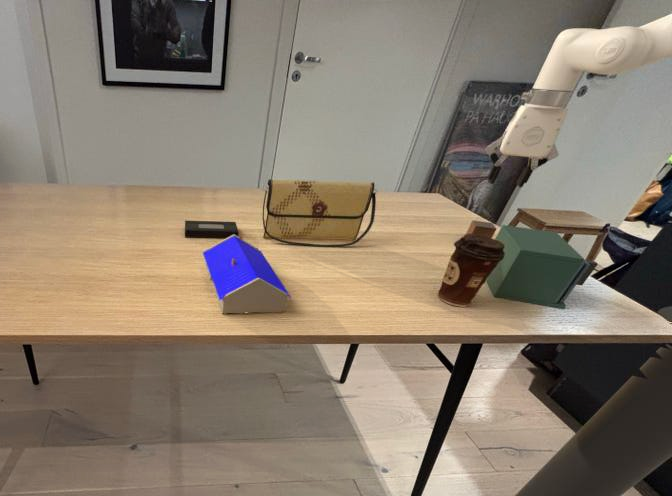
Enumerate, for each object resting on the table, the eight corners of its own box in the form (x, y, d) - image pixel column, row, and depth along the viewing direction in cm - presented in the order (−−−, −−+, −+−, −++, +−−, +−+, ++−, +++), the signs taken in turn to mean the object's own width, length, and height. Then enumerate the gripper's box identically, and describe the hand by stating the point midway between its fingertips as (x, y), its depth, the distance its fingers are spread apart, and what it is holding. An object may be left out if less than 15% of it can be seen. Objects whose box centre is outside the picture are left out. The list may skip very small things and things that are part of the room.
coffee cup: (431, 303, 81) (460, 243, 72) (428, 286, 87) (455, 229, 79) (478, 313, 78) (514, 251, 70) (472, 295, 84) (505, 236, 76)
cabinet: (541, 277, 92) (569, 234, 86) (564, 309, 81) (599, 261, 74) (479, 267, 95) (502, 224, 89) (493, 296, 84) (521, 249, 77)
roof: (202, 265, 91) (203, 234, 87) (259, 263, 93) (263, 233, 89) (218, 314, 74) (221, 279, 70) (288, 311, 76) (295, 277, 72)
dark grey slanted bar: (573, 290, 85) (599, 253, 80) (587, 306, 79) (616, 268, 74) (547, 285, 86) (572, 249, 81) (559, 302, 81) (586, 264, 75)
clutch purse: (259, 245, 102) (268, 184, 93) (255, 235, 108) (263, 177, 98) (370, 248, 103) (390, 188, 94) (360, 238, 109) (378, 180, 99)
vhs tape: (184, 227, 111) (185, 220, 109) (234, 228, 111) (235, 221, 110) (185, 237, 105) (185, 230, 103) (237, 238, 105) (238, 231, 104)
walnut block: (483, 240, 110) (492, 222, 107) (487, 246, 107) (496, 228, 103) (464, 237, 112) (472, 220, 108) (466, 243, 108) (475, 225, 105)
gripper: (508, 98, 88) (469, 183, 99) (599, 104, 83) (548, 192, 95) (500, 96, 93) (464, 176, 104) (585, 101, 89) (539, 185, 100)
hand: (504, 183), depth 99 cm, fingers open, 5 cm apart
